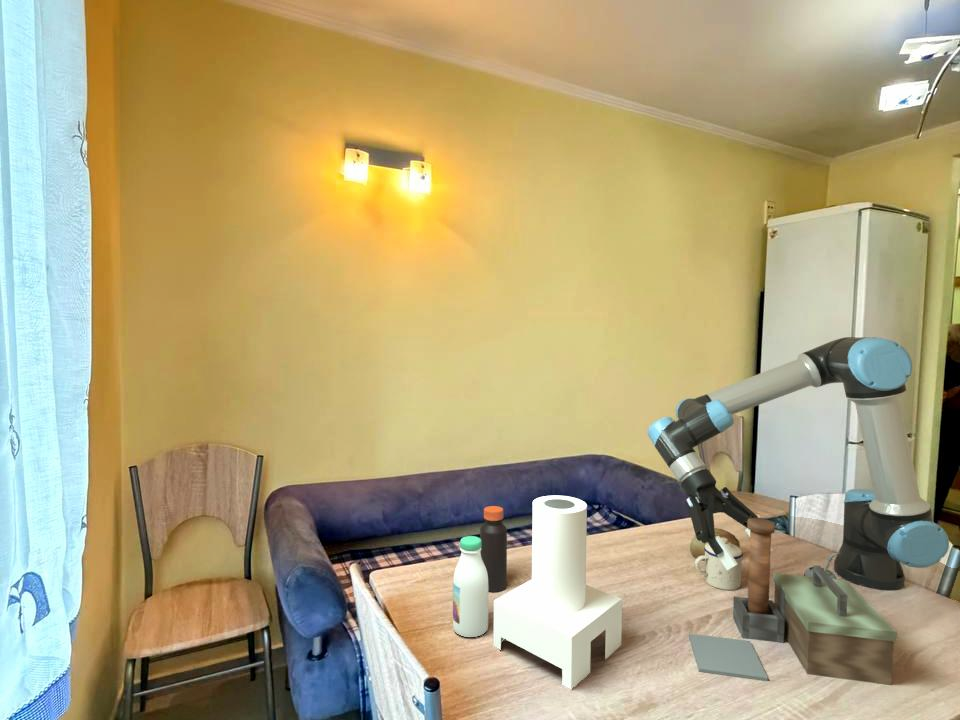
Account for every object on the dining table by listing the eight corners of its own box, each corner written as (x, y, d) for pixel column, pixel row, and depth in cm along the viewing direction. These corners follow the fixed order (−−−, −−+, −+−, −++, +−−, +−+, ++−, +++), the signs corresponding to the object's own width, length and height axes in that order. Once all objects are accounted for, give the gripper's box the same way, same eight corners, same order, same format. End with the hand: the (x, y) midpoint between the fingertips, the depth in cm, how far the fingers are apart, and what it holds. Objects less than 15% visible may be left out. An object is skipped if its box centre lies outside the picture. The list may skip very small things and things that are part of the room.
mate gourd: (806, 593, 131) (809, 534, 131) (844, 605, 126) (847, 543, 125) (798, 604, 126) (800, 542, 125) (837, 617, 121) (839, 553, 120)
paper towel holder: (493, 647, 109) (494, 504, 107) (547, 612, 122) (548, 484, 121) (571, 690, 96) (573, 528, 94) (621, 645, 110) (624, 503, 108)
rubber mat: (749, 643, 110) (749, 641, 110) (767, 681, 99) (767, 677, 98) (688, 636, 113) (688, 633, 113) (698, 671, 101) (699, 668, 101)
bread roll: (750, 561, 150) (750, 534, 149) (702, 566, 147) (703, 538, 146) (727, 547, 159) (728, 521, 159) (682, 552, 156) (683, 525, 155)
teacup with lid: (728, 573, 142) (730, 531, 141) (749, 590, 133) (751, 545, 132) (686, 575, 141) (687, 533, 140) (704, 592, 132) (705, 547, 131)
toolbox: (843, 625, 117) (846, 561, 116) (894, 686, 97) (898, 609, 96) (730, 612, 122) (732, 551, 122) (756, 667, 102) (758, 595, 101)
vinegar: (475, 589, 133) (476, 511, 131) (485, 578, 139) (485, 503, 138) (501, 595, 130) (501, 515, 129) (510, 582, 136) (510, 506, 135)
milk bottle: (492, 623, 118) (493, 535, 116) (481, 642, 110) (481, 548, 109) (460, 616, 120) (460, 530, 119) (447, 635, 113) (447, 543, 112)
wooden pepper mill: (766, 624, 117) (770, 518, 116) (774, 638, 112) (778, 527, 111) (741, 621, 118) (744, 516, 117) (747, 634, 113) (751, 525, 112)
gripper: (714, 476, 136) (770, 554, 124) (649, 492, 123) (704, 581, 111) (734, 460, 131) (794, 540, 120) (668, 475, 118) (728, 566, 106)
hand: (751, 560), depth 115 cm, fingers open, 13 cm apart
